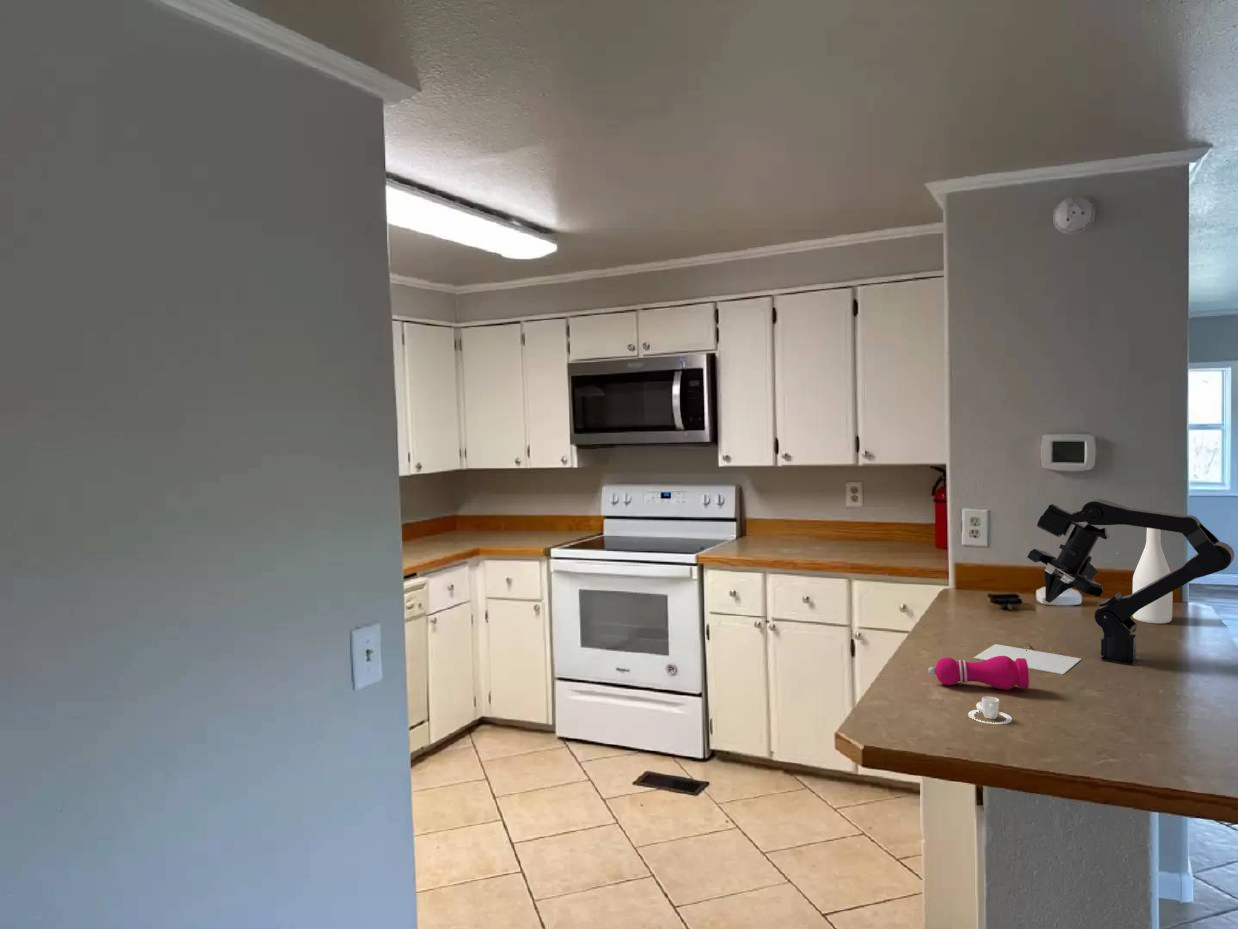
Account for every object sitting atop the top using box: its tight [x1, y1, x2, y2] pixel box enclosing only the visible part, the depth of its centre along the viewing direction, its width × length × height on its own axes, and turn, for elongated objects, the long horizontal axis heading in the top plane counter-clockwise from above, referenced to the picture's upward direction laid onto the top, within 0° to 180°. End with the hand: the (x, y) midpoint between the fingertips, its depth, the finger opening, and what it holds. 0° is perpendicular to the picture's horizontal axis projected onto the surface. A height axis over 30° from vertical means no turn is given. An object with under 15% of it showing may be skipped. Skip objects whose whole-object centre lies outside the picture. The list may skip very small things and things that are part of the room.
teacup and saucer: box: [967, 696, 1013, 725], centre depth 166 cm, size 9×8×4 cm
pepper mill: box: [927, 656, 1030, 691], centre depth 183 cm, size 7×7×20 cm
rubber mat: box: [973, 643, 1082, 675], centre depth 202 cm, size 20×15×1 cm
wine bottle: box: [1131, 528, 1174, 624], centre depth 234 cm, size 10×10×30 cm
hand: (1047, 601), depth 208 cm, fingers closed
